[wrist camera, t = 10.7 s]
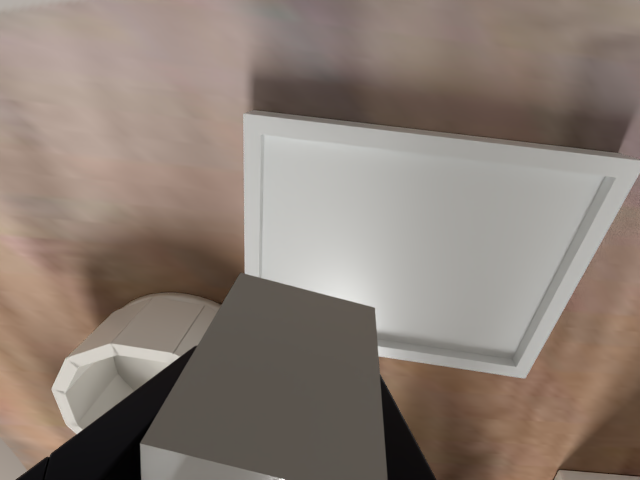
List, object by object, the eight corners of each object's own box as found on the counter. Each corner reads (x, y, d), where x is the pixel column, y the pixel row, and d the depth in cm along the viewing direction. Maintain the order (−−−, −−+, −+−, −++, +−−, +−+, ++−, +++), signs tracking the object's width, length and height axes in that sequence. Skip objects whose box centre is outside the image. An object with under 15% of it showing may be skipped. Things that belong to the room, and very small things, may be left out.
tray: (618, 153, 15) (646, 161, 14) (513, 357, 21) (525, 378, 19) (253, 110, 16) (243, 113, 14) (252, 318, 22) (245, 336, 20)
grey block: (375, 307, 9) (389, 505, 5) (338, 395, 10) (327, 595, 6) (240, 272, 8) (140, 443, 5) (226, 366, 10) (144, 550, 6)
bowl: (280, 307, 21) (260, 366, 17) (273, 429, 27) (257, 496, 23) (92, 279, 22) (26, 330, 17) (125, 404, 27) (82, 465, 23)
